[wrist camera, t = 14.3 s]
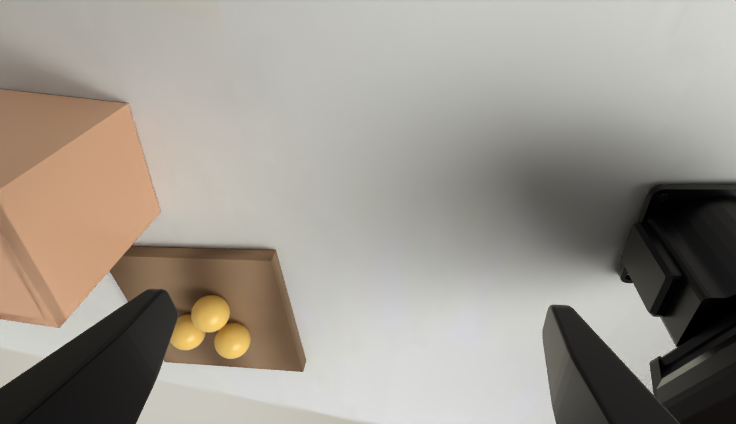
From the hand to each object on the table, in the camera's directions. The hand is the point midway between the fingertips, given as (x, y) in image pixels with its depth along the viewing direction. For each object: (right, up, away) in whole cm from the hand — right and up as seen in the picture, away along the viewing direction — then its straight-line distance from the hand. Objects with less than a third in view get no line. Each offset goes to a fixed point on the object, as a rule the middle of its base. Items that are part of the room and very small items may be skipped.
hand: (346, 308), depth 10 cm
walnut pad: (-11, -5, +22) cm, 25 cm away
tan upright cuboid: (-16, +6, +15) cm, 22 cm away
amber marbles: (-11, -6, +21) cm, 24 cm away
